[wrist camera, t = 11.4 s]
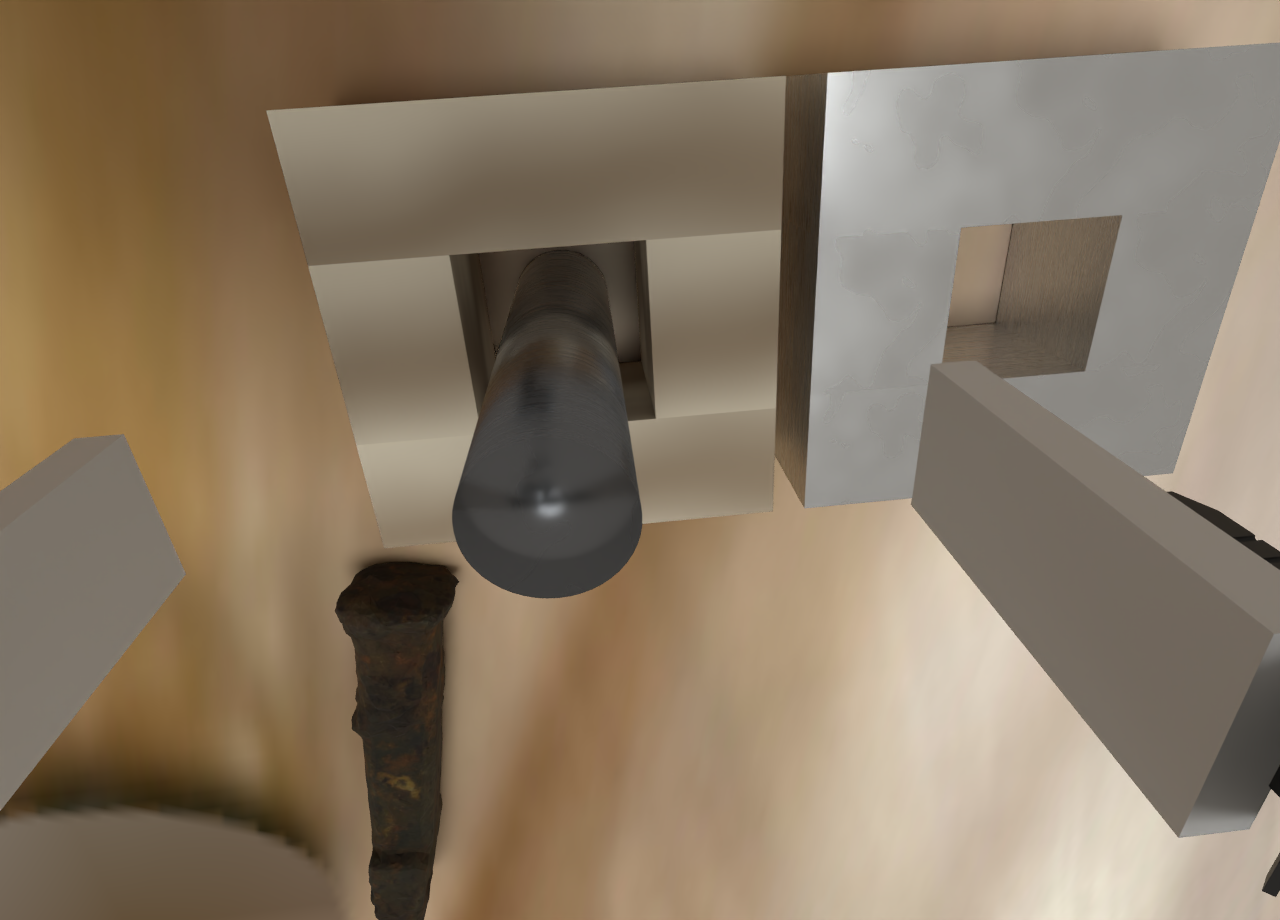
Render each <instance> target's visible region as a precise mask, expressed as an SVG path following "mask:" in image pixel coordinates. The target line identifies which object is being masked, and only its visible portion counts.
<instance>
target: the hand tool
mask: <svg viewBox="0 0 1280 920" xmlns="http://www.w3.org/2000/svg"><path fill="white" fill-rule="evenodd" d="M458 583H459V581H458V580H457V578H456V577H455V576H454V575H453V574H451V573H450V571H449V570H448V569H447V568H446V567H445V566H440V565H423V564H419V563H412V562H391V563H385V564H376V565H373V566H370V567H368V568H365V569H363V570H361V571H360V572H359V573H357V574H356V576H355V577H354V579H353V581H352V583H351V584H350V585H349V586H348V587H347V588H346V589H345V590H344V591H343V592H341V594H340V596H339V599H338V601H337V606H336V609H335V612H336V614H337V616H338V618H339V620H340V622H341V623H342V624H343V628H344V630H345V632H346V634H348V635H349V636H350V637H351V639H352V641H353V644H354V647H355V659H356V674H357V678H358V687H357V690H356V698H355V699H356V702H357V707H356V710H355V712H354V714H353V716H352V730H353V731H355V732H356V733H357V734H359V735H360V736H361V737H362V739H363V747H364V758H365V772H366V782H367V788H368V801H369V809H370V817H371V826H372V844H373V851H372V856H371V860H370V864H369V872H368V873H369V883H370V885H371V901H372V904H373V905H375V916H376V918H377V919H379V920H424V917H425V912H426V908H427V903H428V900H429V893H430V883H431V879H432V874H433V863H434V856H435V848H436V842H437V835H438V831H439V824H440V816H441V810H442V799H441V794H440V775H441V751H442V727H441V715H442V708H441V706H442V702H443V698H444V696H443V691H444V685H445V666H444V650H443V646H442V636H443V619H444V618H445V616H446V615H447V613H448V611H449V610H450V608H451V607H452V604H453V601H454V597H455V587H456V585H457V584H458Z"/></svg>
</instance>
